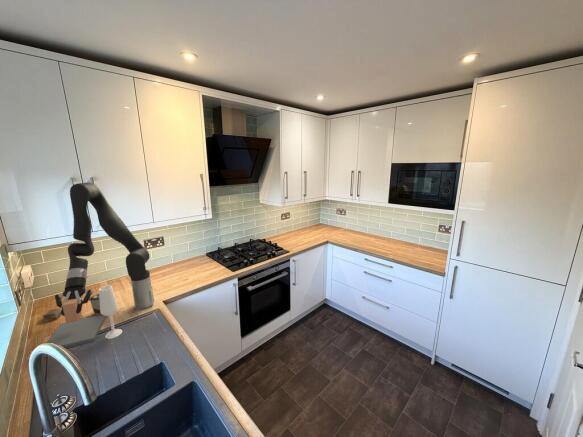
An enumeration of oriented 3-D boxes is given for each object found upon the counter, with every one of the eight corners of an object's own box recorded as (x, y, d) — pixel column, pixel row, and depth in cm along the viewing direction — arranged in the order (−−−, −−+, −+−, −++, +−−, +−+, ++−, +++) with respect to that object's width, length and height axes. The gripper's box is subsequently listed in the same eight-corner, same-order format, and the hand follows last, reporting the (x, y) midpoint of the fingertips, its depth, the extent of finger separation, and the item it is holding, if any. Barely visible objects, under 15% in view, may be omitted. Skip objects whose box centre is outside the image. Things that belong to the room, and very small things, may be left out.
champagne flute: (117, 327, 118) (110, 283, 112) (125, 331, 114) (117, 286, 109) (102, 335, 112) (93, 289, 107) (109, 340, 109) (100, 293, 104)
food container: (122, 307, 134) (119, 291, 132) (114, 313, 128) (112, 297, 126) (100, 307, 134) (97, 291, 132) (91, 314, 128) (88, 297, 126)
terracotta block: (81, 315, 115) (78, 298, 113) (78, 321, 111) (74, 303, 109) (70, 318, 113) (66, 300, 111) (66, 323, 109) (62, 305, 107)
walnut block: (61, 314, 128) (60, 308, 127) (56, 320, 123) (55, 313, 122) (49, 316, 126) (48, 309, 125) (44, 322, 122) (42, 315, 121)
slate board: (106, 316, 126) (106, 313, 126) (94, 340, 108) (93, 337, 108) (62, 325, 119) (62, 322, 119) (41, 353, 101) (41, 350, 101)
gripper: (54, 279, 112) (46, 316, 104) (91, 274, 118) (87, 308, 110) (61, 284, 118) (54, 319, 110) (96, 279, 124) (93, 312, 115)
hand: (71, 314), depth 110 cm, fingers closed on terracotta block, 4 cm apart
